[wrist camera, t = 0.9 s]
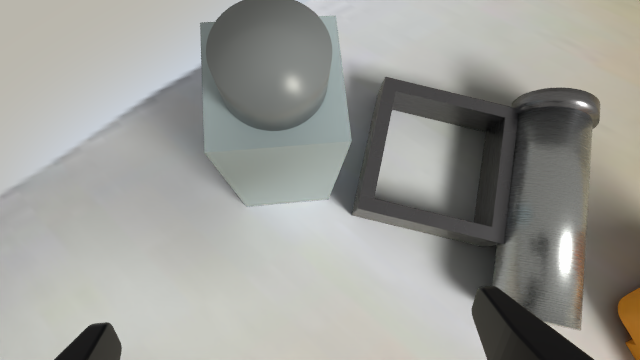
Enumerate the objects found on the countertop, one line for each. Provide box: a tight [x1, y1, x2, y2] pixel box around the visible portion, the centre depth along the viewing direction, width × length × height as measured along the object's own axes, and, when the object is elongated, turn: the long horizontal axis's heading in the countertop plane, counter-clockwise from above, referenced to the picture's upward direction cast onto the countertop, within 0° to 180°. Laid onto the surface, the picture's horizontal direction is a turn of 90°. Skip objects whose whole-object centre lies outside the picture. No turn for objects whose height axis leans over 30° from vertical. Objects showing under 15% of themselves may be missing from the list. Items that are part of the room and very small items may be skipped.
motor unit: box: [352, 77, 600, 330], centre depth 22 cm, size 13×13×5 cm
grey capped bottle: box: [200, 0, 352, 207], centre depth 18 cm, size 5×5×13 cm
